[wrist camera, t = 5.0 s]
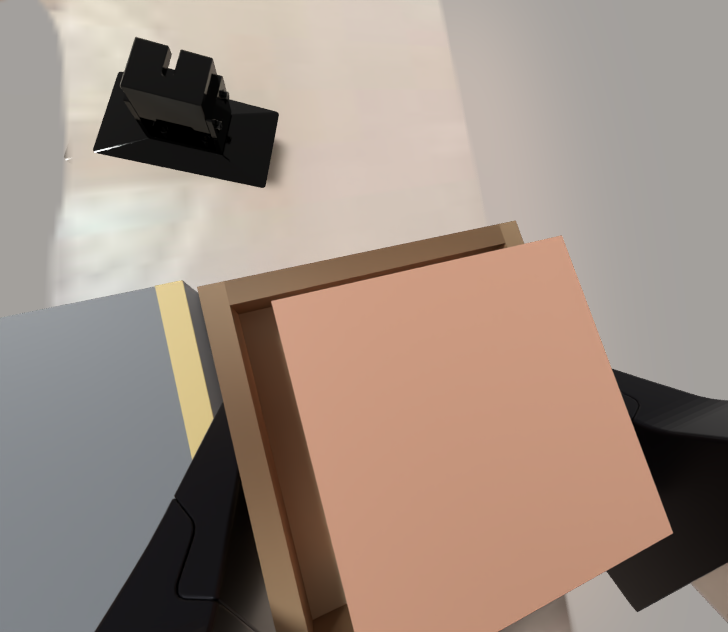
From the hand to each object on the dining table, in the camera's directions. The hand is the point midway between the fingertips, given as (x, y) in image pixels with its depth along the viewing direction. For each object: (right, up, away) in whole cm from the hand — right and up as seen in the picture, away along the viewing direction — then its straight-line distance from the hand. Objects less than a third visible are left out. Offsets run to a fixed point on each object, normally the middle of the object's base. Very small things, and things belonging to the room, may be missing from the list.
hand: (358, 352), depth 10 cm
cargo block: (+1, -1, -3) cm, 4 cm away
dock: (-12, -6, +6) cm, 15 cm away
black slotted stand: (-10, +12, +11) cm, 19 cm away
